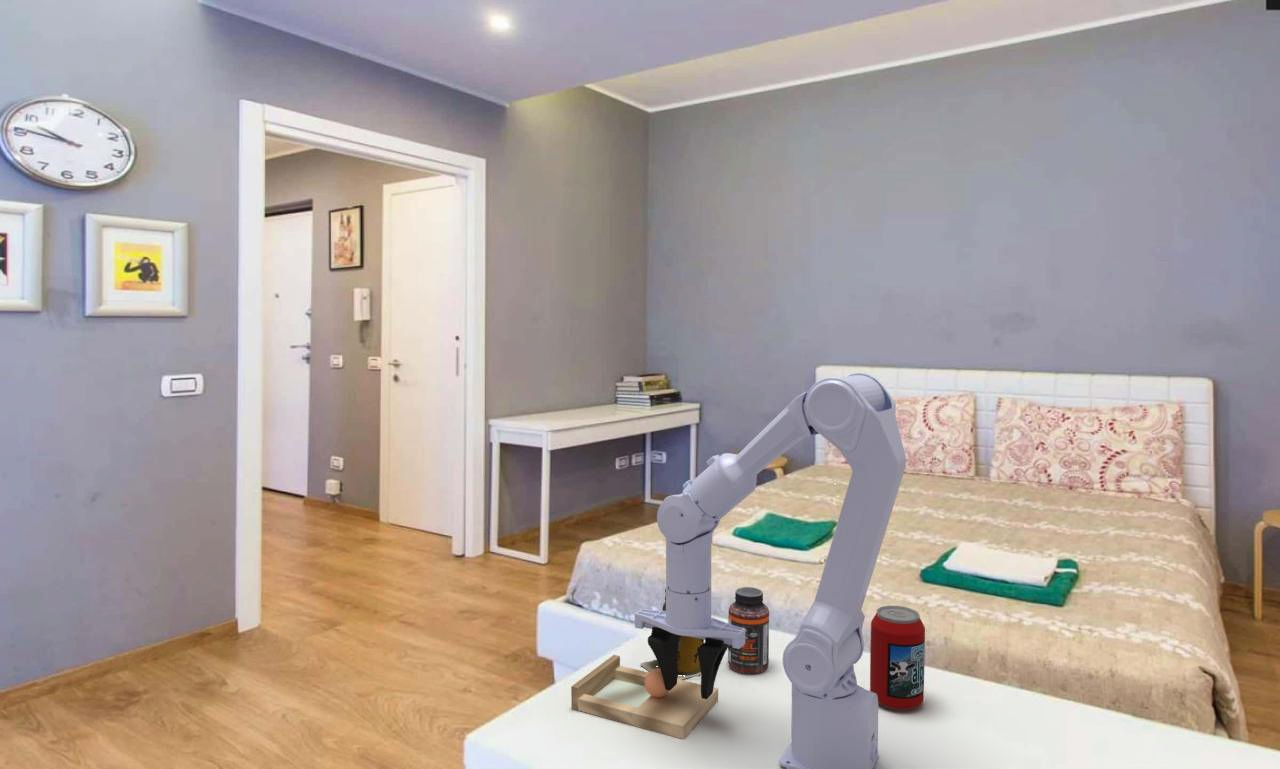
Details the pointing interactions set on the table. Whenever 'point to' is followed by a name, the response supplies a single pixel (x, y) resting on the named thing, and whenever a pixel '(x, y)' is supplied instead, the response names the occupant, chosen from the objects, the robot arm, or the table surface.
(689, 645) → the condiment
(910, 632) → the beverage can
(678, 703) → the board
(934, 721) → the table surface
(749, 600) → the supplement bottle
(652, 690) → the ball
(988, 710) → the table surface
